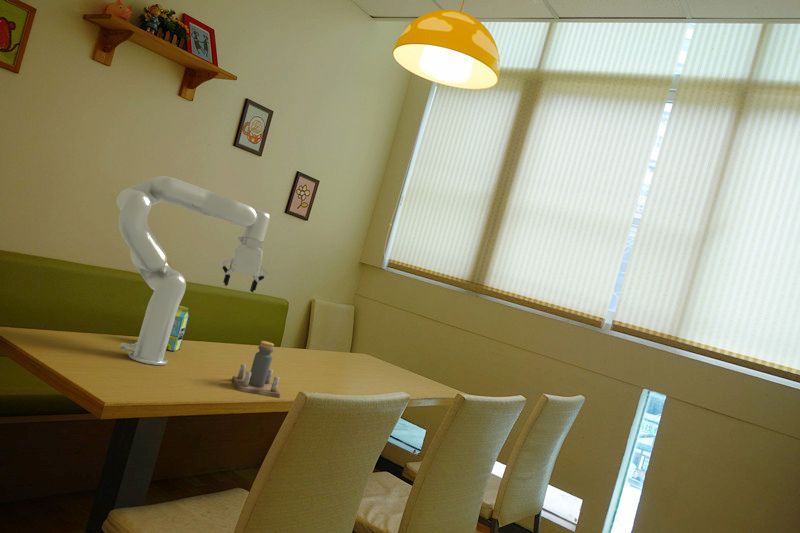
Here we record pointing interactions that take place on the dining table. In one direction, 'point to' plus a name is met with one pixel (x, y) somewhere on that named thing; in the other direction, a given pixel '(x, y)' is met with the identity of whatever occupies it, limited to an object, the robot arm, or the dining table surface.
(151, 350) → the robot arm
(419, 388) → the dining table surface
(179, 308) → the carton
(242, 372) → the pegboard
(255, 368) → the bottle
